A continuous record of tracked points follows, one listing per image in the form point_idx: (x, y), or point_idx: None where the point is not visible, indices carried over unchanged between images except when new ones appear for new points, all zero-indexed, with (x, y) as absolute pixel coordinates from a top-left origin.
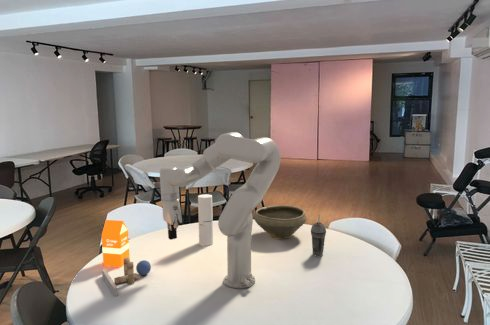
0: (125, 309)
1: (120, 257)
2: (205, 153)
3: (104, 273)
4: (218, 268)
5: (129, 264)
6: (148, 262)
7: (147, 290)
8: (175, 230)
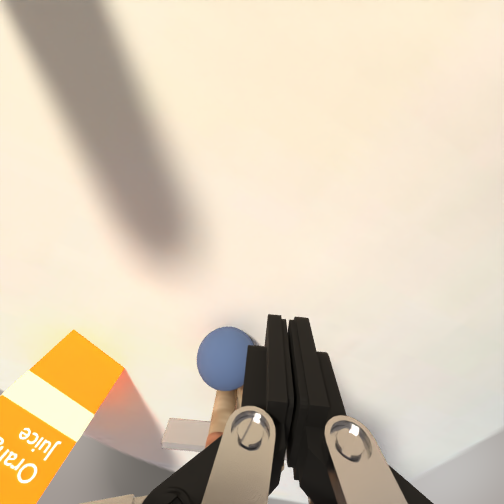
0: (407, 441)
1: (102, 401)
2: None
3: (195, 450)
4: (413, 19)
5: (281, 469)
6: (233, 359)
7: (353, 371)
8: (323, 403)
